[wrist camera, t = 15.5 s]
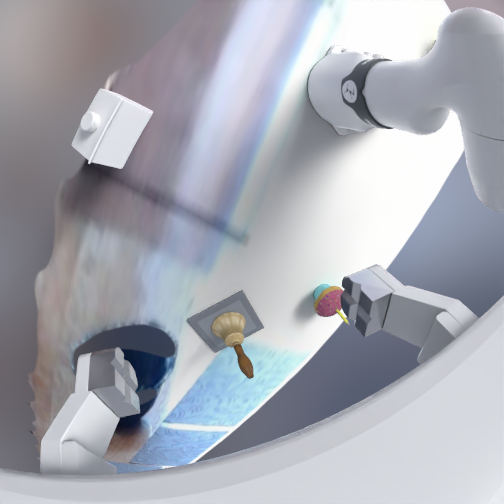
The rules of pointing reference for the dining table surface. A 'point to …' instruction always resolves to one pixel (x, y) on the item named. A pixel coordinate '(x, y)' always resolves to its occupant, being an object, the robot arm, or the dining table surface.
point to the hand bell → (233, 337)
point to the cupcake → (328, 301)
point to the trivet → (231, 304)
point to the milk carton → (110, 129)
